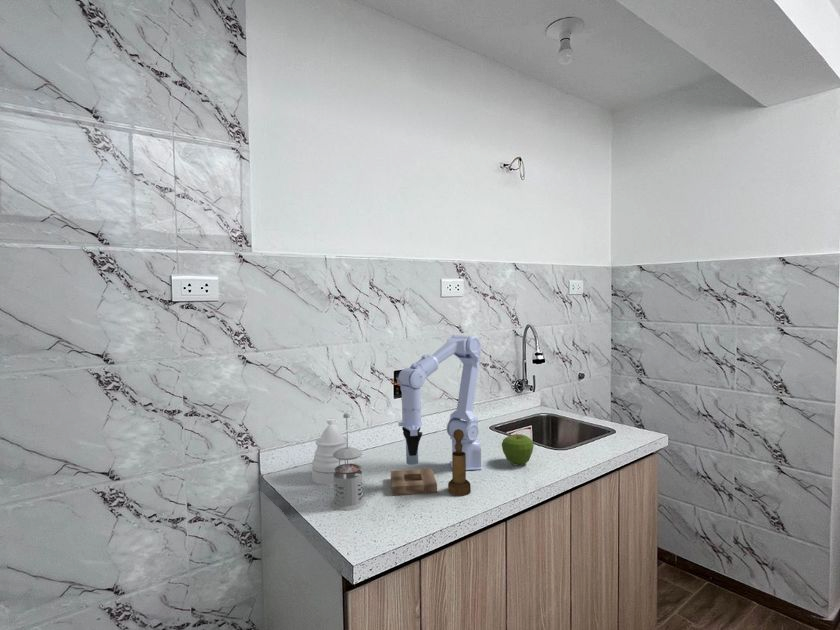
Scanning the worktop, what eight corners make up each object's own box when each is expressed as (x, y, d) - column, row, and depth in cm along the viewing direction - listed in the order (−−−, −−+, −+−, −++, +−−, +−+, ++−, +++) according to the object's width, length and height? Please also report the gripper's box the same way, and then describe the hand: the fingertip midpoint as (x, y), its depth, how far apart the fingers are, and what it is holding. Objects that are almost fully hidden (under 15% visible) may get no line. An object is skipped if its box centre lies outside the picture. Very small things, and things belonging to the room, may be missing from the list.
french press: (334, 514, 114) (332, 419, 113) (326, 496, 124) (324, 409, 124) (370, 506, 117) (368, 414, 117) (359, 490, 128) (357, 406, 128)
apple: (520, 456, 154) (519, 428, 154) (540, 465, 145) (540, 436, 145) (495, 461, 150) (495, 432, 149) (515, 471, 140) (514, 441, 140)
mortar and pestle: (464, 498, 122) (463, 434, 121) (444, 493, 125) (443, 431, 125) (474, 489, 127) (473, 428, 127) (454, 484, 131) (453, 425, 130)
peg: (417, 460, 133) (417, 434, 132) (418, 464, 129) (418, 437, 129) (406, 460, 132) (405, 434, 132) (406, 465, 129) (406, 438, 128)
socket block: (431, 476, 137) (431, 468, 137) (437, 492, 125) (436, 484, 125) (390, 479, 136) (390, 471, 136) (392, 495, 124) (392, 486, 124)
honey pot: (310, 472, 143) (309, 418, 143) (349, 466, 147) (347, 414, 147) (314, 487, 131) (313, 428, 131) (356, 480, 135) (355, 423, 135)
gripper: (397, 403, 137) (398, 446, 137) (399, 414, 123) (400, 462, 123) (419, 402, 138) (420, 444, 138) (424, 413, 123) (425, 460, 124)
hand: (412, 452), depth 131 cm, fingers closed on peg, 4 cm apart
